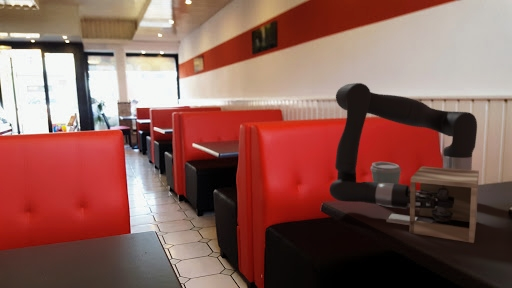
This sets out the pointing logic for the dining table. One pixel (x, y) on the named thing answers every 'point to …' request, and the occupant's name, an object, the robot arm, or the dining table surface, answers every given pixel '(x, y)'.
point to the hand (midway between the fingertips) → (453, 202)
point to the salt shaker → (442, 209)
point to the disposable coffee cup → (385, 172)
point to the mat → (400, 219)
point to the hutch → (459, 187)
